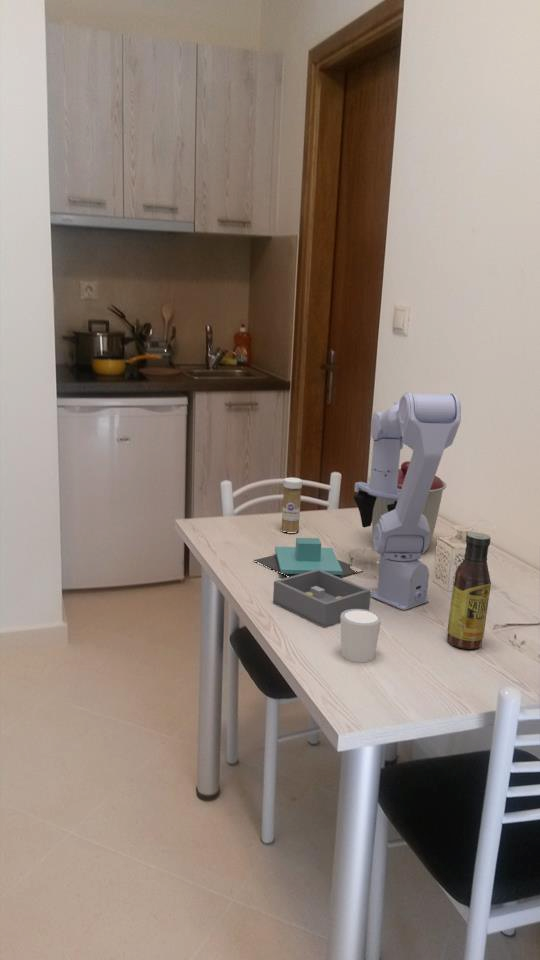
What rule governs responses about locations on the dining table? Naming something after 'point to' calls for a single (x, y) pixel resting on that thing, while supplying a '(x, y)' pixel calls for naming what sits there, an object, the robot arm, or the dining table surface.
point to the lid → (307, 558)
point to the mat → (274, 565)
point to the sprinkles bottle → (291, 504)
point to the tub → (319, 596)
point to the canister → (429, 508)
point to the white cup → (359, 634)
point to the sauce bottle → (470, 594)
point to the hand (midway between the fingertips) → (379, 531)
